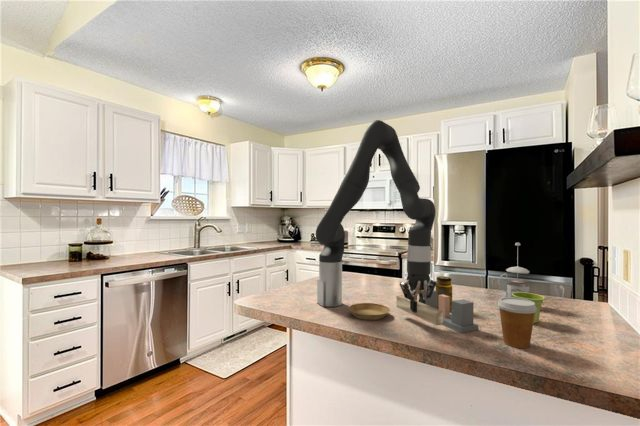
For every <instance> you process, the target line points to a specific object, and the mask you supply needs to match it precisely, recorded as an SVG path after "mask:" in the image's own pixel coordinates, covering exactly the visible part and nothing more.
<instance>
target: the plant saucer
mask: <svg viewBox="0 0 640 426" xmlns="http://www.w3.org/2000/svg"><path fill="white" fill-rule="evenodd" d="M348 310H349V312H350V313H351V315H353V316H354V317H355V318H357V319H360V320H365V321H378V320H382V319H384V318H385V317H386V316H387V315H388V314H389V313H390V311H391V309H390V307H388V306H386V305H384V304H380V303H374V302H359V303H358V302H357V303H354V304H351V305H350V306H348Z"/></svg>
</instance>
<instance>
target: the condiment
mask: <svg viewBox="0 0 640 426" xmlns="http://www.w3.org/2000/svg"><path fill="white" fill-rule="evenodd" d="M435 291H437V309H438V310H439V295H442V294H443V295H447V296H450V312H452V301H453V285H452V278H451V277H450V276H445V275H444V276H443V275H442V276H437V277H436V286H435Z"/></svg>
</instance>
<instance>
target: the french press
mask: <svg viewBox="0 0 640 426" xmlns="http://www.w3.org/2000/svg"><path fill="white" fill-rule="evenodd" d="M514 246H517V251H516V252H517V253H516V254H517V257H516V260H517V263H516V264H517V266H511V267H508V268H506V269H505V271H506V272H508V273H513V274H516V277H517V278H508V276H509V275H508V273H506V272H505V273H502V274H500V276H499V277H498V279H497V280H498V284H497V285H498V287H499V288H500V289H501V290H502V291H503V292H504V293H505V297H513V295H512V293H514V292H526V293H530V285H529V284H528V283H529V281H527V280H525V279H520V278H519V274H525V275H526V274H530V270H528V269H527V268H524V267H521V266H519V246H521V243H520V242H515V244H514ZM503 276H506V278H508V279H507V282H506V290H505V289H503V288H502V287H501V279H502V278H503ZM513 298H514V297H513Z"/></svg>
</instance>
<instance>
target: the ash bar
mask: <svg viewBox="0 0 640 426" xmlns="http://www.w3.org/2000/svg"><path fill="white" fill-rule="evenodd" d="M396 308H399V309H400V310H402V311H405V312H406V313H408V314H411V315H413V316H415V317H417V318H419V319H422V320H424V321H426V322H427V323H430V324H431V325H434V326H437V327H438V326H444V325H443V311H441V310H438V309H436V308H433V307H431V306H428V305H426V304H423V303H421V302H419V300H417V313H414V312H412V311H411V309H410V300H409V299H407V298H405V296H404V294H399V295H396Z"/></svg>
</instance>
